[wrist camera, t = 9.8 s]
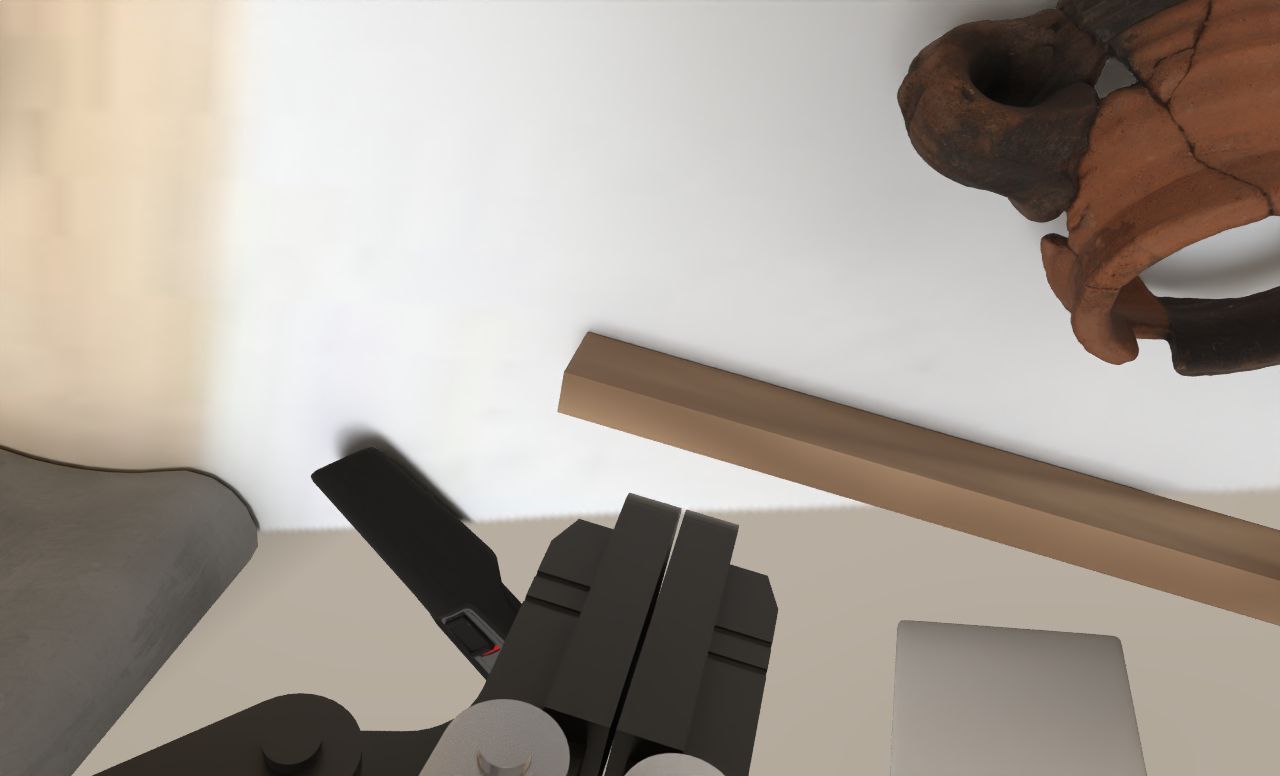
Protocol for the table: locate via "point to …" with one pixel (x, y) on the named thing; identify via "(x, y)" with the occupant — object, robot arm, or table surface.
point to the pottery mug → (1120, 155)
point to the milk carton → (1011, 703)
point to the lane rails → (928, 476)
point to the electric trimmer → (425, 551)
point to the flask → (100, 595)
